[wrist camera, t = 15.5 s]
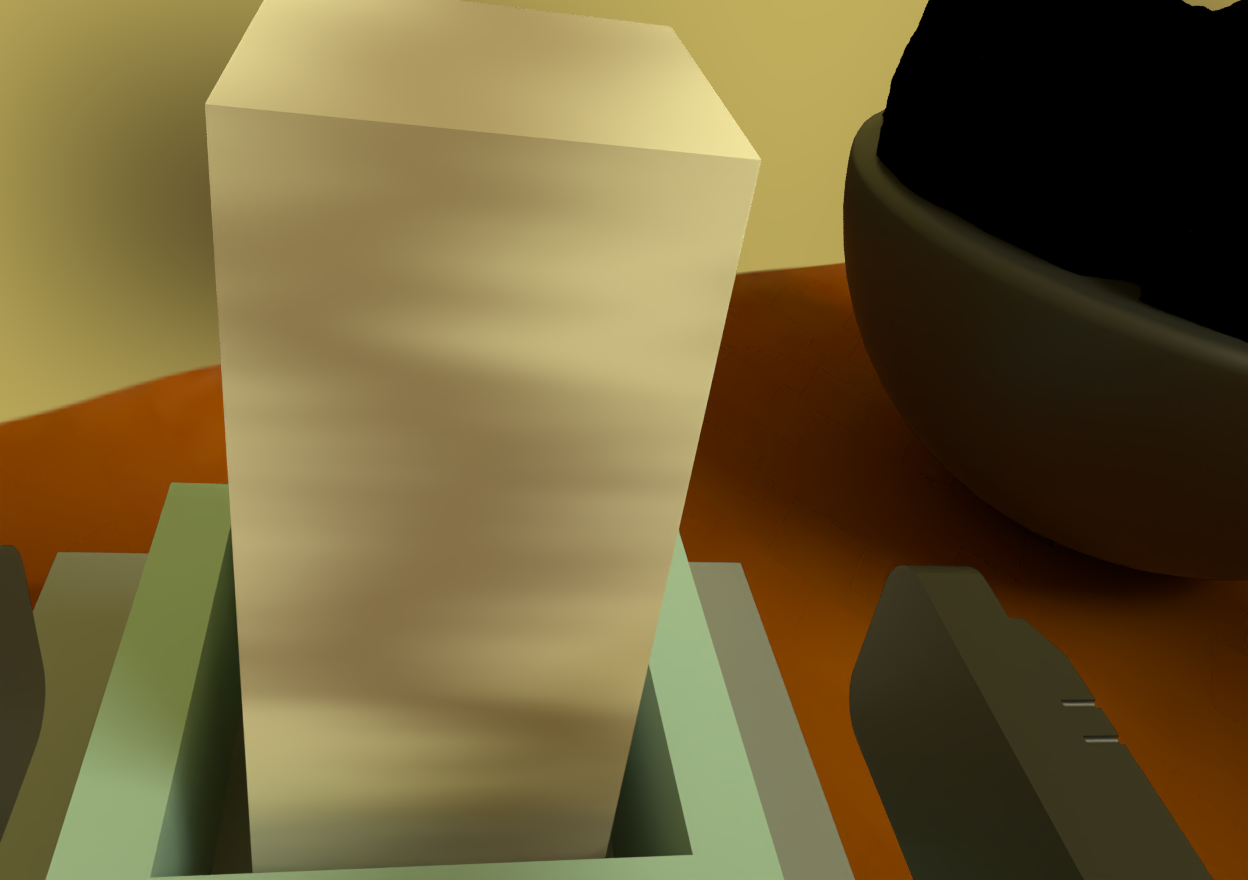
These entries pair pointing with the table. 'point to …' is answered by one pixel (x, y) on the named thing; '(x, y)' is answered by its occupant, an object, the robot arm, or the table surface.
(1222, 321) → the coal bowl
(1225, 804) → the table surface
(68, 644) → the socket holder
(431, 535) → the square peg
